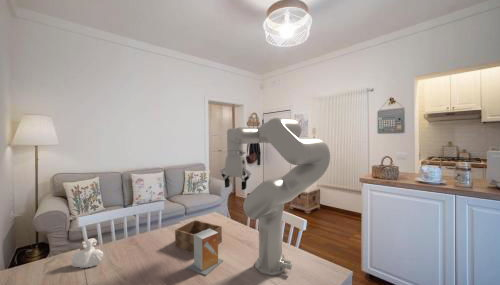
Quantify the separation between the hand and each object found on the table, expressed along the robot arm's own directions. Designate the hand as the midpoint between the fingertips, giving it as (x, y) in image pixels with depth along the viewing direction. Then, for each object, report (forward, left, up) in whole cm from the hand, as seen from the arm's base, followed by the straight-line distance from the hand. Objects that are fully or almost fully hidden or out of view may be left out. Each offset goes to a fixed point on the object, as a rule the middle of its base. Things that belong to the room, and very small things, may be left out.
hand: (235, 188), depth 105 cm
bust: (+47, +43, -29) cm, 70 cm away
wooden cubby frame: (+17, +8, -28) cm, 34 cm away
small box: (+2, +20, -28) cm, 34 cm away
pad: (+2, +20, -28) cm, 35 cm away
